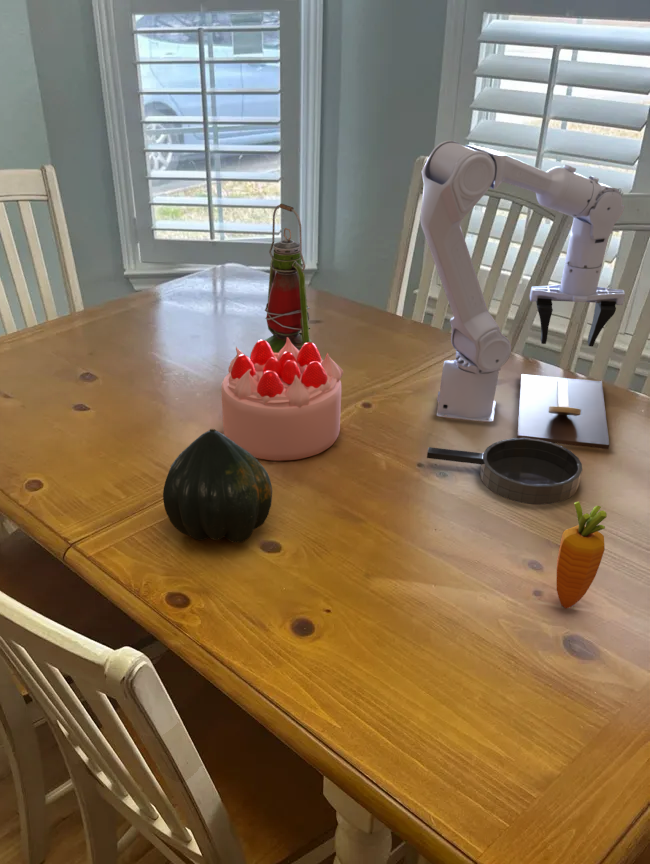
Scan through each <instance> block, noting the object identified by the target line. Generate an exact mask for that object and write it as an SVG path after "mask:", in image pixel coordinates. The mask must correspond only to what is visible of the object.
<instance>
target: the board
mask: <svg viewBox="0 0 650 864" xmlns="http://www.w3.org/2000/svg"><path fill="white" fill-rule="evenodd" d="M558 379H563V380H567V383H568V402H569V407H571V408H577V409H581V413H580V415H578V416H572V415H560V414H553V413H549V412H548V411H549V407H550V406H558V405H557V382H558ZM518 398H519V401H518V416H517V418H518V419H517V434H516V438H531V439H539V440H544V441H548V442H552V443H555V444H557V445H567V446H575V447H584V448H585V447H586V448H595V449H602V450H603V449H604V450H609V448H610V437H609V430H608V422H607V413H606V405H605V397H604V388H603V381H602V380H601V381H600V380H590V379H579V378H569V377H568V378H567V377H557V376H548V375H547V376H546V375H537V374H536V375H534V374H524V373H522V374H520V380H519V397H518Z"/></svg>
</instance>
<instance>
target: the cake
mask: <svg viewBox="0 0 650 864" xmlns="http://www.w3.org/2000/svg"><path fill="white" fill-rule="evenodd" d="M312 342H313V341H312ZM312 342H307V343H305V344H304V345H303V346H302V347H301V349H300V351H299V350H298V349H297V348H296V347H295V346H294V345H293V344H292V343H291V341H290V339H289V338H288V337H287V341H286V344H285V346H284V347H283V348H282V349H281V350H280V351H279V353H273V350H272V348H271V346H270V345H269V343H268V342H267V341H265V339H260V340H257V342H255V344H254V345H253V347H252V349H251V352H250V355H249V356H248V355H246V354H245V353H244V352H242V351H241V350H240V349H239V348H238V347H237V346H235V351H236V355H235V356H234V358H233V359H231V361H230V363H229V366H228V371H227V372H228V373H227V374H226V375H225V377H224V378H223V380H222V382H221V389H220V390H221V391H220V393H221V411H222V424H223V425H222V427H223V428H222V429H223V434H224V435H225V436H226V437H228V438H229V439H230V440H232V441H233V442H234V443H236V444H237V445H239V446H240V447H242V448H243V449H245V450H246V451H248V452H249V453H250V454H251V455H253V456H254V457H255V458H256V459H261V460H266V461H276V462H277V461H279V462H280V461H281V462H282V461H295V460H301V459H306V458H309V457H312V456H316V455H318V454H320V453H323V452H324V451H326V450H327V449H329V448H330V447H332V446H333V445H334V443H336V441H337V440H338V438H339V436H340V432H341V431H340V429H341V409H342V407H341V406H342V381H341V379H342V377H343V374H344V370H343V368H342V367H341V366H340V365H339V364H337V363H336V362H335V361H334V359H332V358H331V356H330V355H329V352H327V353H326V355H325V357H324V359H323V358H322V356H321V353H320V351H319V348H318V347H317V345H316V344H315V343H314V342H313V343H312Z"/></svg>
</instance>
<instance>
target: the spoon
mask: <svg viewBox="0 0 650 864" xmlns="http://www.w3.org/2000/svg"><path fill="white" fill-rule="evenodd" d="M557 405H558V406H550V407H549V411H548V412H549V413H553V414H560V415H572V416H578V415H580V413H581V409H577V408H571V407H569V402H568V383H567V380H563V379H558V382H557Z"/></svg>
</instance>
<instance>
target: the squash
mask: <svg viewBox="0 0 650 864" xmlns="http://www.w3.org/2000/svg"><path fill="white" fill-rule="evenodd" d="M162 500H163V506H164V511H165V513H166V515H167V518H168V519H169V521H170V523H171V524H172V526H173V527H174V528H175V529H176V530H177V531H179V532H180V533H182V534H184V535H186V536H190V537H191V538H193V539H194V540H197V541H204V540H206V539H208V538H210V539H211V540H215V541H219V540H222V539H223V538H225V539H226V540H228V541H230V542H232V543H243V542H246V541H247V540H248V539H249V538H250V537H251V535H252V533H253V532H254V530H256V529H258V528H260V527H261V526H262V525H263V524H264V523H265V522H266V520H267V518H268V516H269V514H270V510H271V507H272V501H273V487H272V482H271V479H270V476H269V474H268V471H267V470H266V468H265V467H264V466H263V465H262V464H261V462H260V461H259V460H258V458H255V457H254V456H253V455H251V454H250V453H249V452H248V451H246V450H245V449H243V448H242V447H240V446H239V445H237V444H236V443H234V442H233V441H232V440H230V439H229V438H228V437H226V436H225V435H224V433H221V432H220V431H218V430H216V429H215V428H210V429H209V430H207V431H205V432H203V433H202V434H201V435H199V436H198V437H197V438H196V439H194V440H193V442H191V443H190V444H189V445H188V446H187V447H185V448H184V449H183V451H181V452H180V453H179V455H177V457H176V458H175V459H174V461H173V462H172V464H171V465H170V468H169V470H168V472H167V476H166V478H165V481H164V486H163V491H162Z"/></svg>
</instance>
